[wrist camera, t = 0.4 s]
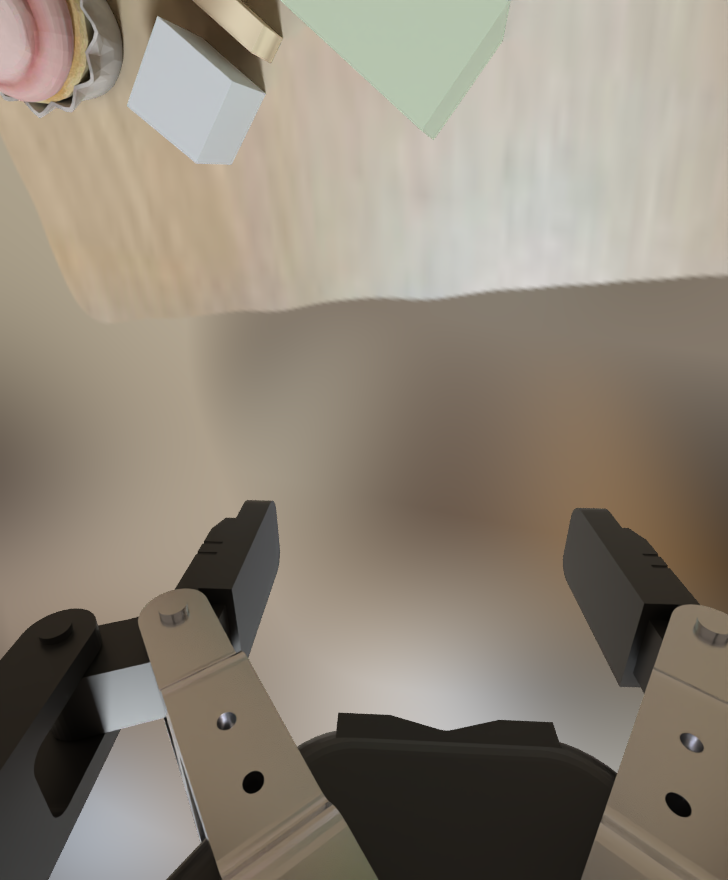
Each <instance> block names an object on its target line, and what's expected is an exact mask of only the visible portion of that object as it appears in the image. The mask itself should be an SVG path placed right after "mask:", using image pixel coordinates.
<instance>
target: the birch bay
mask: <svg viewBox="0 0 728 880" xmlns="http://www.w3.org/2000/svg"><path fill="white" fill-rule="evenodd" d="M192 1H194V2H195V3H196V4H197V5H198V6H199V7H200V8H201V9H203V10H204V11H205V12H206V13H207V14H208V15H209V16H210V17H212V18H213V19H214V20H215V21H216V22H217V23H218V24H219V25H221V26H222V27H223V28H224V29H225V30H226V31H227V32H228V33H229V34H231V35H232V36H233V37H234V38H235V39H236V40H237V41H238V42H240V43H241V44H242V45H243V46H244V47H245V48H246V49H247V50H249V51H250V52H251V53H252V54H254V55H256V56H258V57H260V58H261V59H263V60H265V61H267V62H269V63H271V62H272V60H273V58H274V56H275V54H276V52H277V50H278V48H279V45H280V43H281V41H282V39H283V38H282V37H281V36H279V35H278V34H277V33H276V32H275V31H274V30H273V29H272V28H271V27H270V26H268V25H267V24H266V23H265V22H264V21H263V20H262V19H261V18H260V17H259V16H257V15H256V14H255V13H254V12H253V11H252V10H251V9H250V8H249V7H248V6H246V5H245V4H244V3H243V2H242V1H241V0H192Z"/></svg>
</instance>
